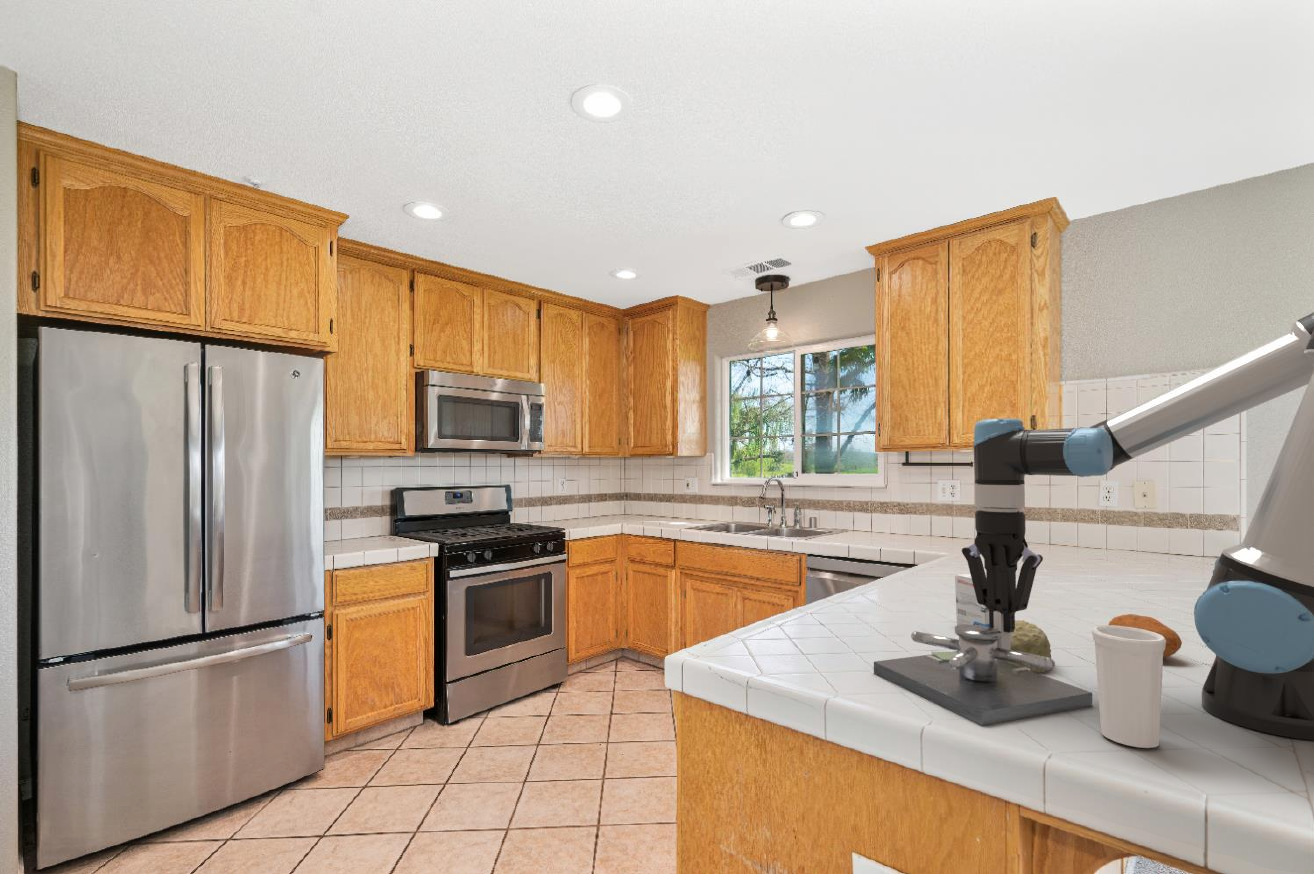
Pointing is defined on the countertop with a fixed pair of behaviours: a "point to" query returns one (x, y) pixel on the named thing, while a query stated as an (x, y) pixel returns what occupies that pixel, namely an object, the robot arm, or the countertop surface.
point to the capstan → (980, 652)
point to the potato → (1151, 625)
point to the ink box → (969, 603)
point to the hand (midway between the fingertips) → (1002, 650)
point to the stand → (983, 689)
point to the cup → (1129, 683)
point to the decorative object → (1029, 642)
